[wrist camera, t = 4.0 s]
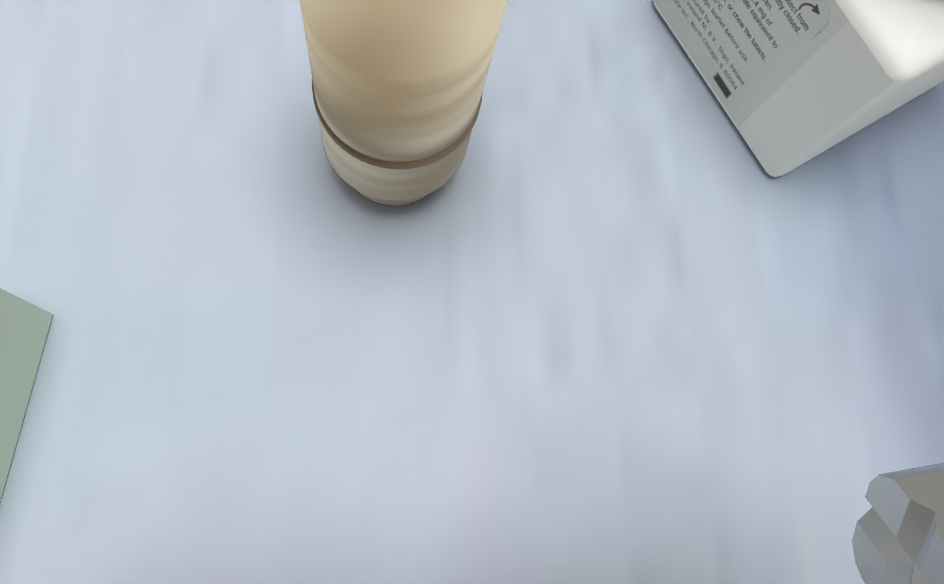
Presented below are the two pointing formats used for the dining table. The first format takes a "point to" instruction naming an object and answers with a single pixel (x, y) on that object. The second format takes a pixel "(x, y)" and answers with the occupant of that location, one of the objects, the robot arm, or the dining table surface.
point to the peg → (398, 88)
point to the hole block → (17, 368)
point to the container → (809, 65)
